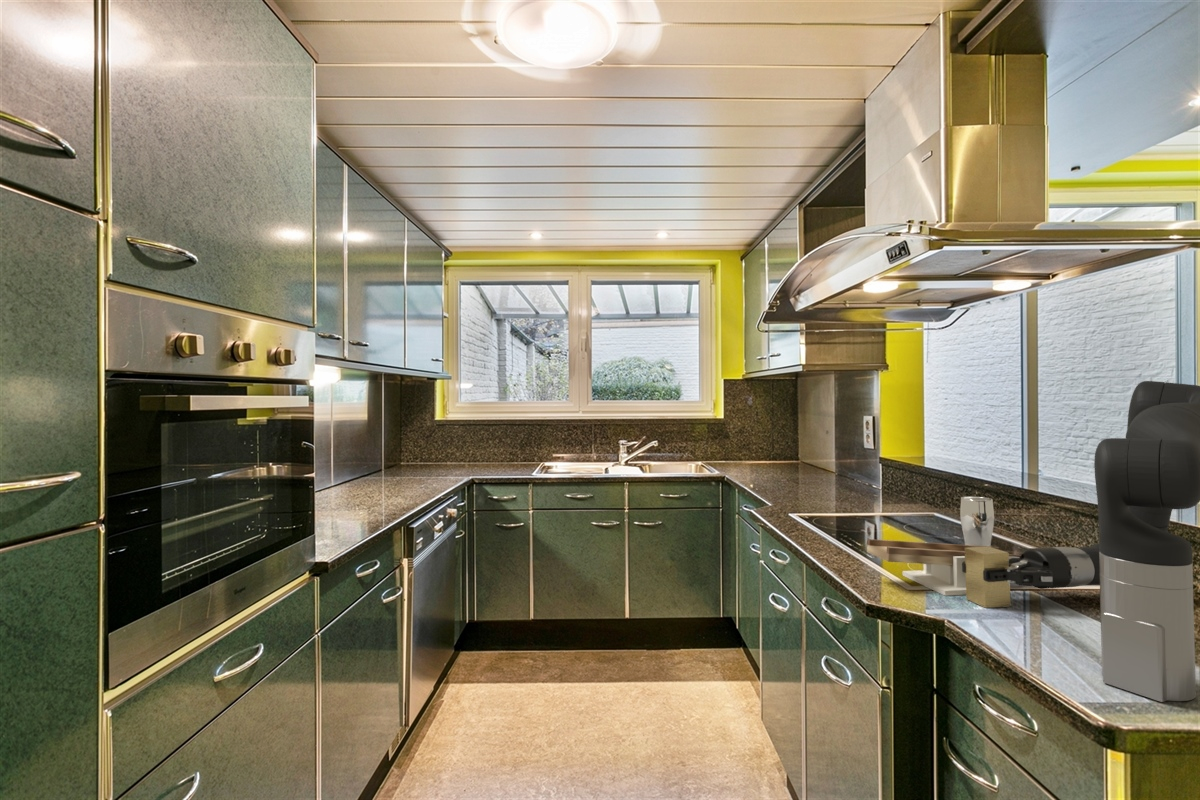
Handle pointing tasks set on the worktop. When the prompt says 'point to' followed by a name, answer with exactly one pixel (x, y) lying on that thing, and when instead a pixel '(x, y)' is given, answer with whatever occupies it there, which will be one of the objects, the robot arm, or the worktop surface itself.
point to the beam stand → (942, 577)
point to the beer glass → (977, 520)
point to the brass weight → (976, 585)
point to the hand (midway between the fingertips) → (974, 571)
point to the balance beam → (918, 551)
